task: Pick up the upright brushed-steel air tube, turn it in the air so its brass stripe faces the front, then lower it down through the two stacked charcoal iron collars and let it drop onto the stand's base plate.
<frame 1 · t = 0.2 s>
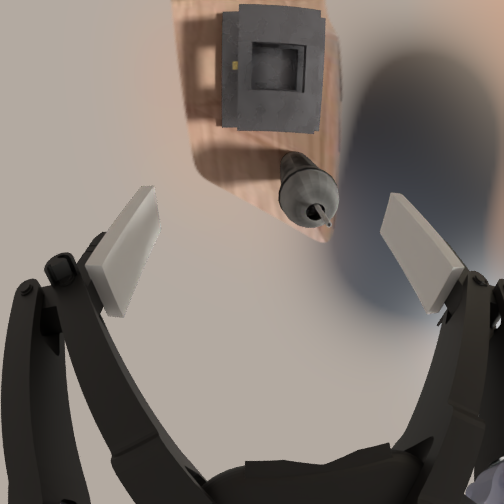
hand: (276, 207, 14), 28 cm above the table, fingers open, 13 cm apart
beverage cup: (294, 164, 41), on the table
firebox collars: (272, 68, 32), on the table
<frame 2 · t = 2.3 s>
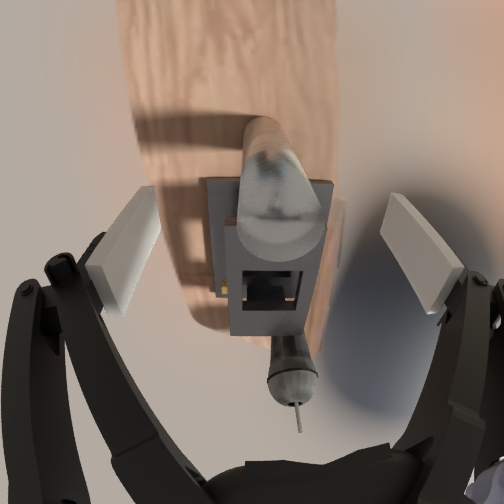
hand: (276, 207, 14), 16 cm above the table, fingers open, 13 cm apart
beverage cup: (285, 316, 44), on the table
firebox collars: (266, 243, 35), on the table
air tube: (263, 134, 26), on the table
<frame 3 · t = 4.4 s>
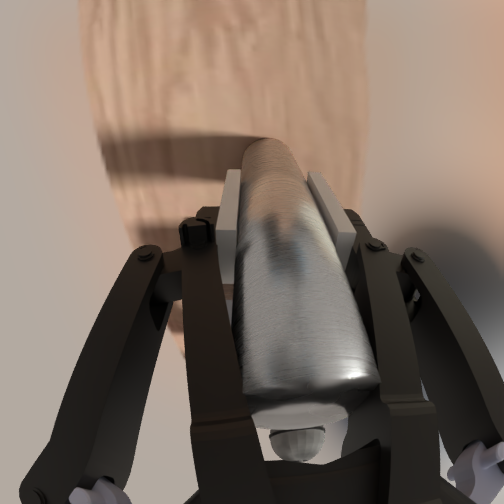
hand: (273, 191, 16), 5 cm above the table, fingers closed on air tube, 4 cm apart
beverage cup: (290, 361, 38), on the table
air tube: (268, 162, 20), on the table, touching gripper
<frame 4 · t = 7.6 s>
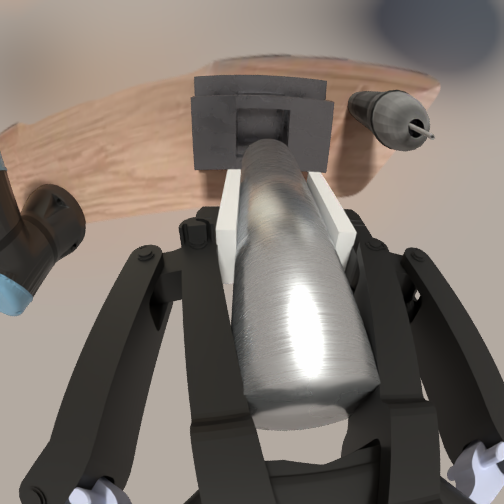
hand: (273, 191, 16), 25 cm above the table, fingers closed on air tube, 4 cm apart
beverage cup: (361, 105, 34), on the table
firebox collars: (259, 121, 36), on the table
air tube: (268, 163, 20), point 19 cm above the table, touching gripper
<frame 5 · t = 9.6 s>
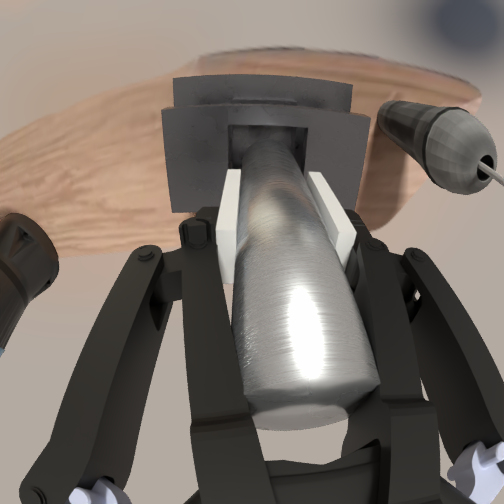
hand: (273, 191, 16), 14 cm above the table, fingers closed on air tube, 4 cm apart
beverage cup: (393, 118, 25), on the table
firebox collars: (262, 137, 27), on the table
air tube: (268, 163, 20), point 9 cm above the table, touching gripper
when the fingers open (10 cm above the table, at t = 11.0 s): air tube drops 3 cm, resting on firebox collars.
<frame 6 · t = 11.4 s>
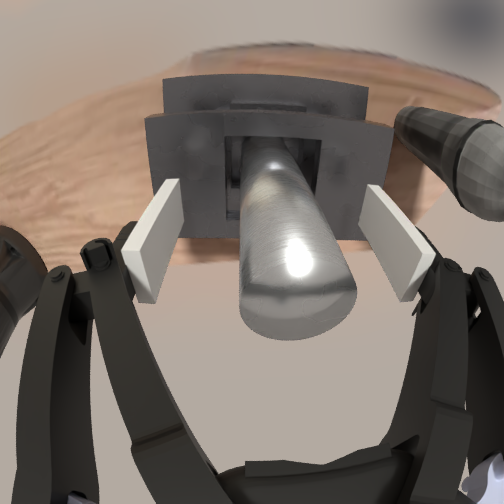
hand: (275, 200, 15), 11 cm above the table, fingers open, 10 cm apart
beverage cup: (411, 126, 22), on the table
firebox collars: (265, 147, 24), on the table
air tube: (263, 150, 23), point 1 cm above the table, touching firebox collars
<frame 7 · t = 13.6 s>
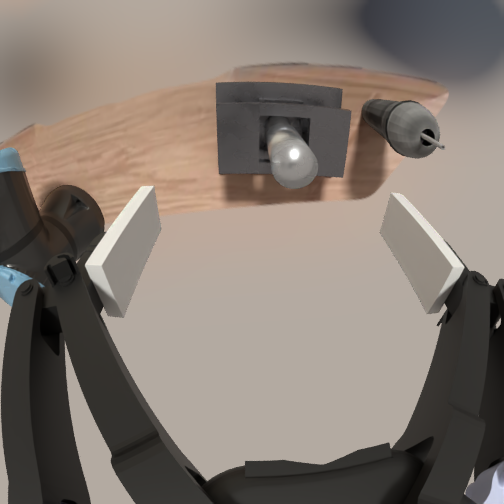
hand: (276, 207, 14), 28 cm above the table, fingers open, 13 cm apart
beverage cup: (374, 112, 35), on the table
firebox collars: (278, 127, 37), on the table
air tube: (277, 128, 37), point 1 cm above the table, touching firebox collars
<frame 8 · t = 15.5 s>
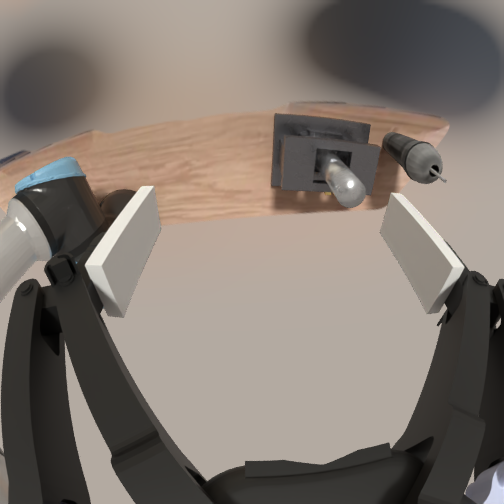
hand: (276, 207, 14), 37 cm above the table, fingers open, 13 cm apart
beverage cup: (391, 142, 46), on the table
firebox collars: (320, 152, 48), on the table
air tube: (320, 154, 47), point 1 cm above the table, touching firebox collars
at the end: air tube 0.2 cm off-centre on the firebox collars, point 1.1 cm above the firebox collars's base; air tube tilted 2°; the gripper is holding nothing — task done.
